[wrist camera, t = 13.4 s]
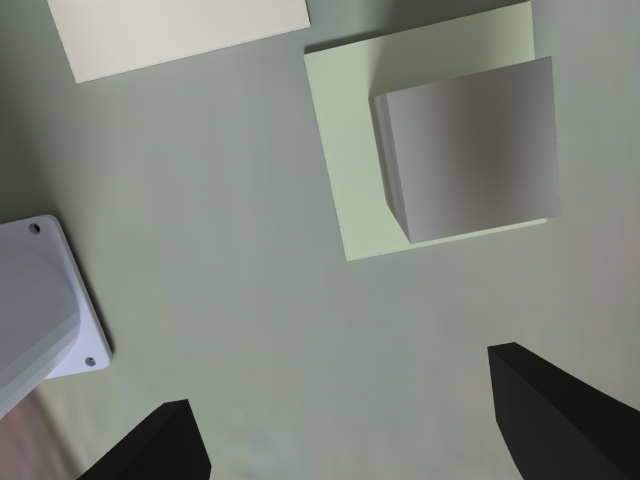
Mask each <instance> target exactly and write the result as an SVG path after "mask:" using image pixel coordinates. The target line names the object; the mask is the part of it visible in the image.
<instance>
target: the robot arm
mask: <svg viewBox="0 0 640 480" xmlns="http://www.w3.org/2000/svg"><path fill="white" fill-rule="evenodd" d="M34 224H37V225H38V226H39V227H40V232H38V231H37V230H36V229H35V227H34ZM487 348H488V356H489V365H490V373H491V381H492V390H493V398H494V406H495V415H496V421H497V424H498V426H499V428H500V431H501V433H502V436H503V438H504V440H505V443H506V445H507V447H508V449H509V452H510V454H511V456H512V458H513V461H514V463H515V465H516V467H517V468H518V470H519V472H520V474H521V475H522V477H523V479H524V480H640V411H638V410H636V409H634V408H632V407H630V406H628V405H626V404H624V403H622V402H620V401H618V400H616V399H614V398H612V397H610V396H608V395H606V394H604V393H603V392H601V391H599V390H597V389H595V388H593V387H591V386H590V385H588V384H586V383H584V382H582V381H581V380H579V379H577V378H575V377H574V376H572V375H570V374H568V373H567V372H565V371H563V370H561V369H560V368H558V367H556V366H555V365H553V364H551V363H550V362H548V361H546V360H544V359H543V358H541V357H539V356H538V355H536V354H534V353H533V352H531V351H529V350H528V349H526V348H524V347H522V346H521V345H519V344H517V343H515V342H512V343H507V344H501V345H495V346H489V347H487ZM89 357H91V358H93V359H94V360H95V362H93V361H91V360H90V358H89ZM112 360H113V355H112V352H111V350H110V347H109V345H108V342H107V340H106V337H105V335H104V332H103V330H102V327H101V325H100V322H99V320H98V317H97V315H96V312H95V310H94V307H93V305H92V302H91V300H90V297H89V295H88V292H87V290H86V287H85V285H84V282H83V280H82V277H81V275H80V272H79V270H78V267H77V265H76V263H75V260H74V258H73V255H72V253H71V250H70V248H69V245H68V243H67V240H66V238H65V235H64V233H63V230H62V228H61V225H60V223H59V221H58V219H57V218H55V217H54V216H52V215H50V214H45V215H40V216H36V217H31V218H27V219H22V220H17V221H13V222H8V223H4V224H0V419H1V418H2V417H3V416H5V415H6V414H7V413H8V412H9V411H10V410H11V409H12V408H13V407H14V406H15V405H16V404H17V403H19V402H20V401H21V400H22V399H23V398H24V397H25V396H26V395H27V394H28V393H29V392H30V391H31V390H32V389H34V388H35V387H36V386H37V385H38V384H39V383H40V382H41V381H42V380H43V379H48V378H53V377H59V376H64V375H70V374H75V373H81V372H86V371H92V370H97V369H102V368H106V367H107V366H108V365H109V364H110V363H111V362H112ZM211 467H212V466H211V463H210V460H209V457H208V455H207V452H206V449H205V446H204V443H203V441H202V438H201V435H200V432H199V429H198V427H197V424H196V421H195V418H194V415H193V413H192V410H191V407H190V404H189V401H188V399H184V400H179V401H173V402H167V403H163V404H162V405H161V406H160V407H158V408H157V409H156V410H154V411H153V412H152V413H151V414H150V415H149V416H147V417H146V418H145V419H144V420H143V421H142V422H141V423H139V424H138V425H137V426H136V427H135V428H134V429H133V430H132V431H131V432H129V433H128V434H127V435H126V436H125V437H124V438H123V439H122V440H121V441H120V442H118V443H117V444H116V445H115V446H114V447H113V448H112V449H111V450H110V451H109V452H107V453H106V454H105V455H104V456H103V457H102V458H101V459H100V460H99V461H97V462H96V463H95V464H94V465H93V466H92V467H91V468H90V469H89V470H87V471H86V472H85V473H84V474H83V475H81V476H80V477H79V478H78V479H77V480H209V478H210V472H211Z"/></svg>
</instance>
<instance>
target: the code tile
mask: <svg viewBox="0 0 640 480" xmlns="http://www.w3.org/2000/svg"><path fill="white" fill-rule="evenodd" d="M47 1H48V4H49V7H50V10H51V13H52V15H53V18H54V21H55V24H56V27H57V29H58V32H59V35H60V38H61V41H62V43H63V46H64V49H65V52H66V55H67V58H68V60H69V63H70V66H71V69H72V72H73V74H74V77H75V80H76V83H83V82H87V81H91V80H95V79H99V78H103V77H107V76H111V75H115V74H119V73H123V72H128V71H132V70H136V69H140V68H144V67H148V66H152V65H156V64H160V63H164V62H168V61H173V60H177V59H181V58H185V57H189V56H193V55H197V54H201V53H205V52H209V51H213V50H218V49H222V48H226V47H230V46H234V45H238V44H242V43H246V42H250V41H254V40H258V39H263V38H267V37H271V36H275V35H279V34H283V33H287V32H291V31H295V30H299V29H303V28H308V27H310V22H309V17H308V12H307V7H306V2H305V0H47Z"/></svg>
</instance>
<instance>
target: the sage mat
mask: <svg viewBox="0 0 640 480" xmlns="http://www.w3.org/2000/svg"><path fill="white" fill-rule="evenodd" d="M304 60H305V65H306V70H307V74H308V79H309V84H310V88H311V93H312V98H313V103H314V107H315V112H316V117H317V122H318V126H319V131H320V136H321V141H322V145H323V150H324V155H325V160H326V164H327V169H328V174H329V179H330V183H331V188H332V193H333V198H334V202H335V207H336V212H337V216H338V221H339V226H340V231H341V235H342V240H343V245H344V250H345V254H346V259H347V261H351V260H356V259H361V258H366V257H372V256H377V255H382V254H387V253H392V252H397V251H402V250H407V249H412V248H417V247H423V246H428V245H433V244H438V243H443V242H448V241H453V240H458V239H463V238H469V237H474V236H479V235H484V234H489V233H494V232H499V231H504V230H509V229H515V228H520V227H525V226H530V225H535V224H540V223H545V222H546V218H543V219H538V220H533V221H528V222H523V223H518V224H513V225H508V226H503V227H497V228H492V229H487V230H482V231H477V232H472V233H467V234H462V235H457V236H451V237H446V238H441V239H436V240H431V241H426V242H421V243H416V244H410V242H409V241H408V239H407V237H406V236H405V234H404V232H403V231H402V229H401V227H400V226H399V224H398V222H397V221H396V219H395V217H394V216H393V214H392V212H391V211H390V209H389V207H388V206H387V204H386V198H385V193H384V187H383V181H382V175H381V170H380V164H379V158H378V153H377V147H376V141H375V135H374V130H373V124H372V118H371V113H370V107H369V101H368V99H371V98H374V97H377V96H380V95H383V94H386V93H390V92H395V91H399V90H404V89H408V88H412V87H417V86H421V85H426V84H430V83H434V82H439V81H443V80H448V79H452V78H456V77H461V76H465V75H470V74H474V73H479V72H483V71H487V70H492V69H496V68H501V67H505V66H509V65H514V64H518V63H523V62H527V61H532V60H535V52H534V38H533V23H532V9H531V1H527V2H523V3H519V4H515V5H511V6H506V7H502V8H498V9H494V10H490V11H486V12H481V13H477V14H473V15H469V16H465V17H460V18H456V19H452V20H448V21H444V22H440V23H435V24H431V25H427V26H423V27H419V28H414V29H410V30H406V31H402V32H398V33H393V34H389V35H385V36H381V37H377V38H373V39H368V40H364V41H360V42H356V43H352V44H347V45H343V46H339V47H335V48H331V49H327V50H322V51H318V52H314V53H310V54H306V55H304Z"/></svg>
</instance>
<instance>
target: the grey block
mask: <svg viewBox="0 0 640 480" xmlns="http://www.w3.org/2000/svg"><path fill="white" fill-rule="evenodd" d="M368 101H369V107H370V113H371V118H372V124H373V130H374V135H375V141H376V147H377V153H378V158H379V164H380V170H381V175H382V181H383V187H384V193H385V198H386V204H387V206H388V207H389V209H390V211H391V212H392V214H393V216H394V217H395V219H396V221H397V222H398V224H399V226H400V227H401V229H402V231H403V232H404V234H405V236H406V237H407V239H408V241H409V242H410V244H416V243H421V242H426V241H431V240H436V239H441V238H446V237H451V236H457V235H462V234H467V233H472V232H477V231H482V230H487V229H492V228H497V227H503V226H508V225H513V224H518V223H523V222H528V221H533V220H538V219H543V218H548V217H554V216H559V215H561V212H560V195H559V178H558V160H557V143H556V126H555V109H554V92H553V74H552V57H551V56H549V57H545V58H540V59H536V60H532V61H527V62H523V63H518V64H514V65H509V66H505V67H501V68H496V69H492V70H487V71H483V72H479V73H474V74H470V75H465V76H461V77H456V78H452V79H448V80H443V81H439V82H434V83H430V84H426V85H421V86H417V87H412V88H408V89H404V90H399V91H395V92H390V93H386V94H383V95H380V96H377V97H374V98H371V99H368Z"/></svg>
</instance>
